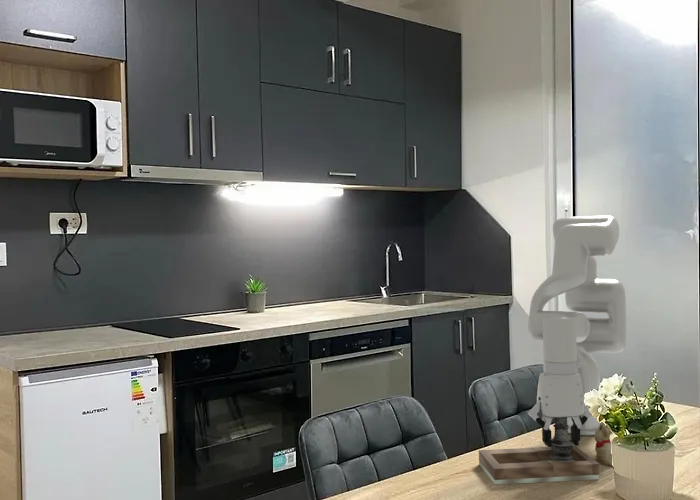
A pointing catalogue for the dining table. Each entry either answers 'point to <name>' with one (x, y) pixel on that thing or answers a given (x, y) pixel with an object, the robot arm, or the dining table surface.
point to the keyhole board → (536, 465)
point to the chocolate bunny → (603, 445)
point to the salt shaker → (561, 441)
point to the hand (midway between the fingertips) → (561, 444)
